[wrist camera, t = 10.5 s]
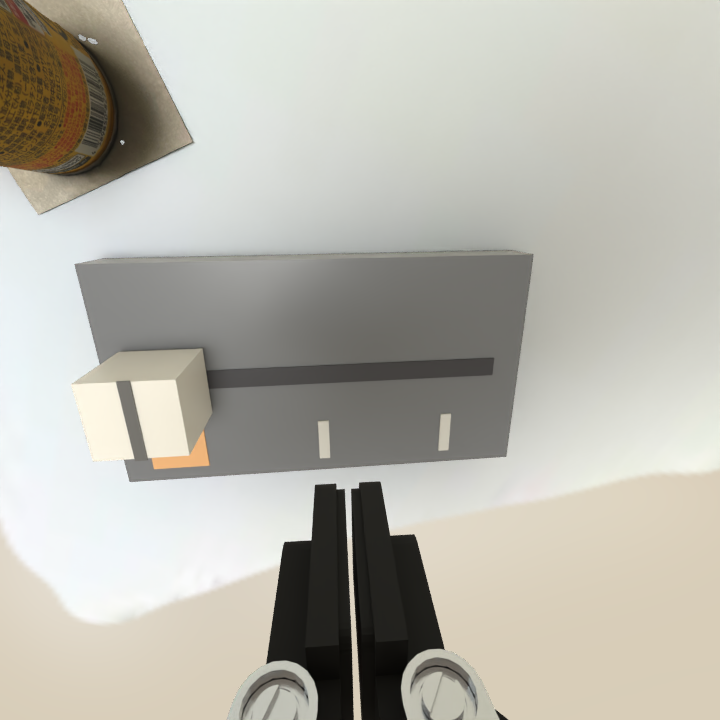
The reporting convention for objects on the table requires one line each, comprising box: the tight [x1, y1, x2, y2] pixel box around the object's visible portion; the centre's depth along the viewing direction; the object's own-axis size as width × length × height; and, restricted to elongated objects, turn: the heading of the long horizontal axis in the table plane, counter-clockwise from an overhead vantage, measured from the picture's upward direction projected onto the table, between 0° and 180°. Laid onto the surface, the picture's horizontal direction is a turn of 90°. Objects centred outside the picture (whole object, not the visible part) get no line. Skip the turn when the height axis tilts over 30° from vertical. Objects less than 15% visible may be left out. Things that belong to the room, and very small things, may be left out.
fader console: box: [75, 250, 533, 482], centre depth 22 cm, size 22×12×3 cm, turn 91°
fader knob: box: [71, 349, 212, 462], centre depth 18 cm, size 4×4×4 cm
